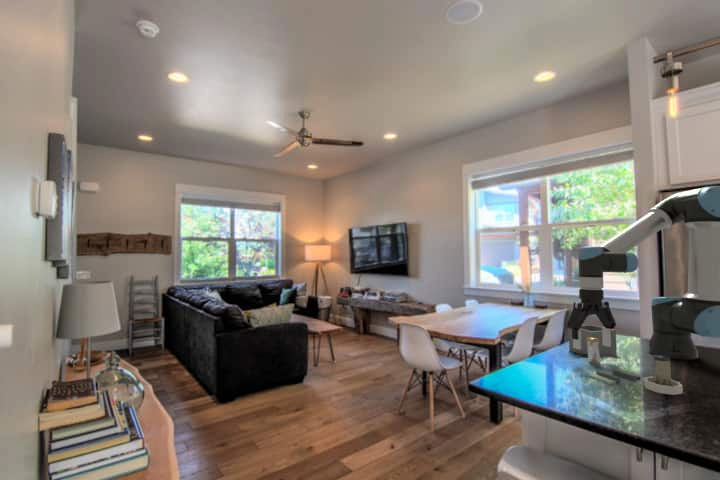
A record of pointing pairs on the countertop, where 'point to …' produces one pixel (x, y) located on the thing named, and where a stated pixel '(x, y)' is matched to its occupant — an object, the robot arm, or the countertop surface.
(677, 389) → the white octagonal bowl
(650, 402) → the countertop surface
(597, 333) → the phone caddy
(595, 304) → the robot arm
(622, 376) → the cradle
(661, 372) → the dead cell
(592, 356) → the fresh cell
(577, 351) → the smartphone
